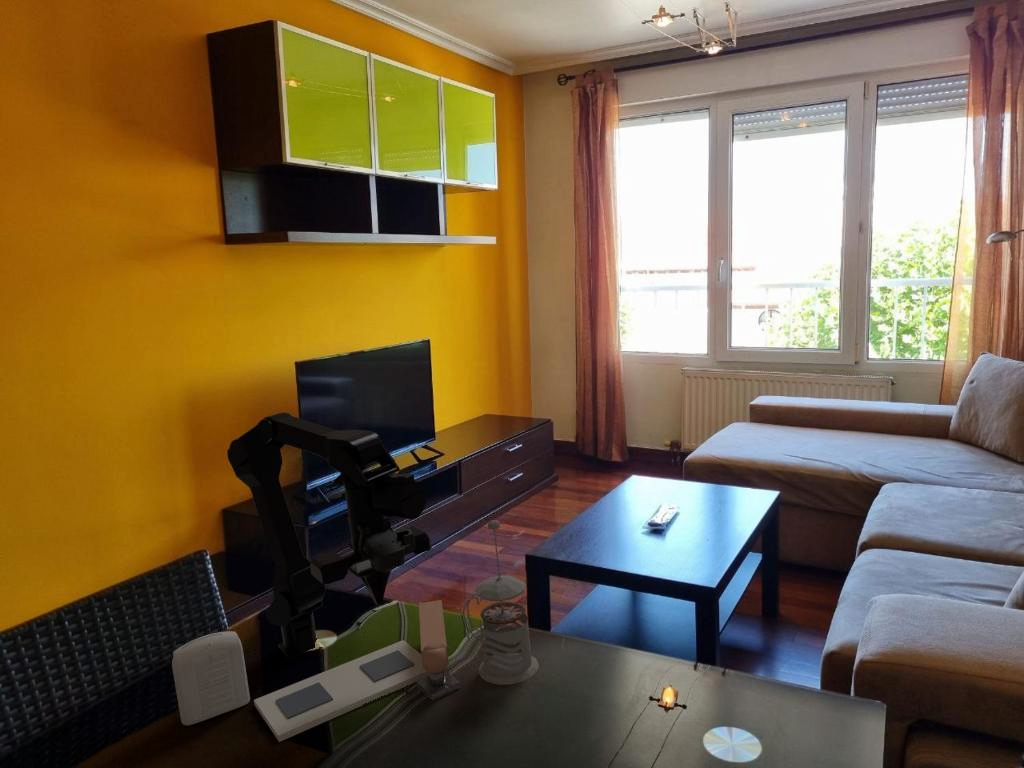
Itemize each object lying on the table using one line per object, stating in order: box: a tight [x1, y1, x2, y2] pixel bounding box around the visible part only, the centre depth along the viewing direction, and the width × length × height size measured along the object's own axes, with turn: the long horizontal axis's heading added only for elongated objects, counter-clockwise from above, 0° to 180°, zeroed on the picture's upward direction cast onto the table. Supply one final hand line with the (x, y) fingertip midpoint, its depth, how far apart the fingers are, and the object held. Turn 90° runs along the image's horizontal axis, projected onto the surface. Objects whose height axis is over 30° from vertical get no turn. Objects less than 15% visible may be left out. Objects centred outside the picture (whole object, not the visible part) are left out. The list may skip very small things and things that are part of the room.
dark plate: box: [415, 669, 461, 702], centre depth 117 cm, size 5×5×3 cm
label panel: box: [253, 639, 429, 743], centre depth 119 cm, size 12×26×1 cm, turn 125°
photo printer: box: [171, 631, 251, 726], centre depth 116 cm, size 10×4×12 cm, turn 123°
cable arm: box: [418, 599, 450, 673], centre depth 124 cm, size 19×4×3 cm, turn 8°
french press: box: [462, 519, 540, 686], centre depth 120 cm, size 10×12×25 cm
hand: (378, 603), depth 121 cm, fingers closed
